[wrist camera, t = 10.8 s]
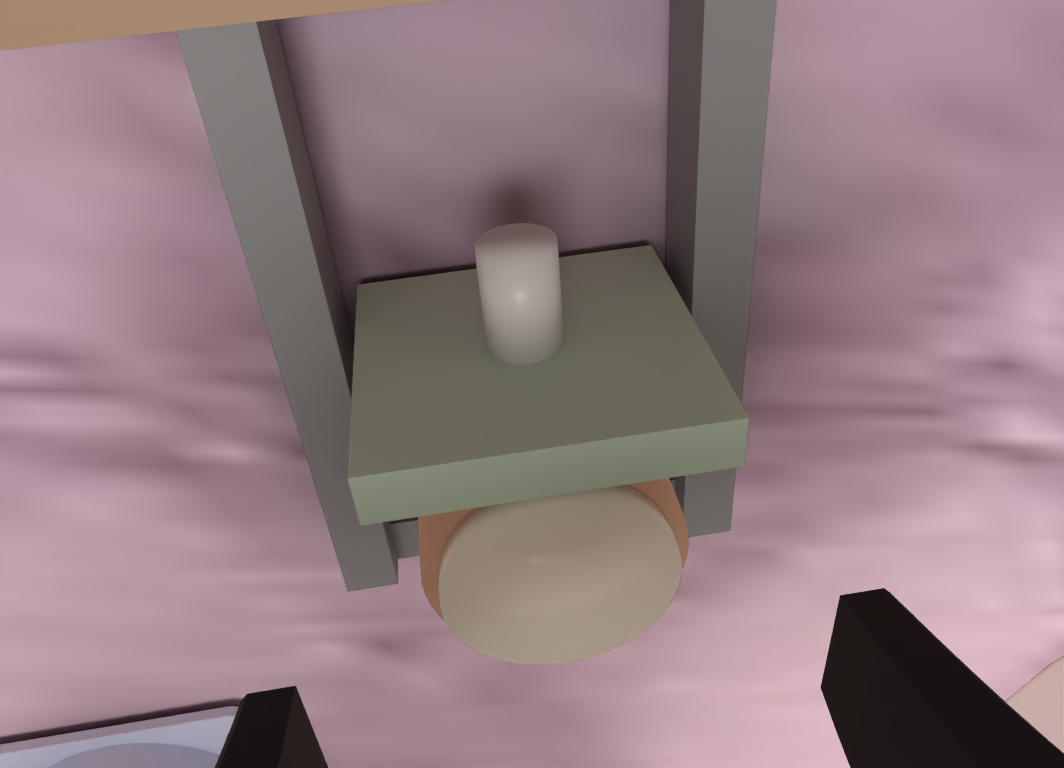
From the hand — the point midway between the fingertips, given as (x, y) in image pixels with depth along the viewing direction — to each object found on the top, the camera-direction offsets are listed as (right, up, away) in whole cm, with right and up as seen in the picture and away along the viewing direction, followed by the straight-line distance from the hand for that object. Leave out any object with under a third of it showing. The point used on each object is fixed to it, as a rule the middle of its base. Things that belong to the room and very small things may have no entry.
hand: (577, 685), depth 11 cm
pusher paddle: (-1, +7, +6) cm, 9 cm away
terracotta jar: (-1, +4, +9) cm, 10 cm away
